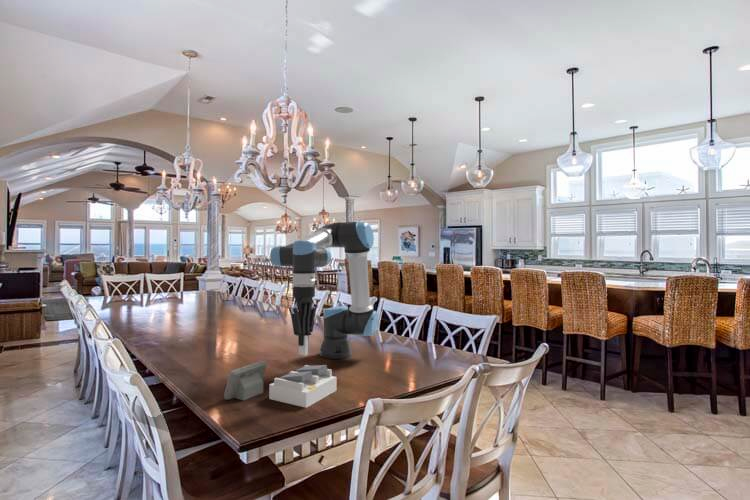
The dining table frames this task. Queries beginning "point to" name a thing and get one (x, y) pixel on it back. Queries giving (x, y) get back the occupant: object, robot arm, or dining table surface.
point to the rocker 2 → (313, 369)
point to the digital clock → (245, 382)
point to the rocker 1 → (297, 376)
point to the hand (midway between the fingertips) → (303, 354)
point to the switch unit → (303, 389)
